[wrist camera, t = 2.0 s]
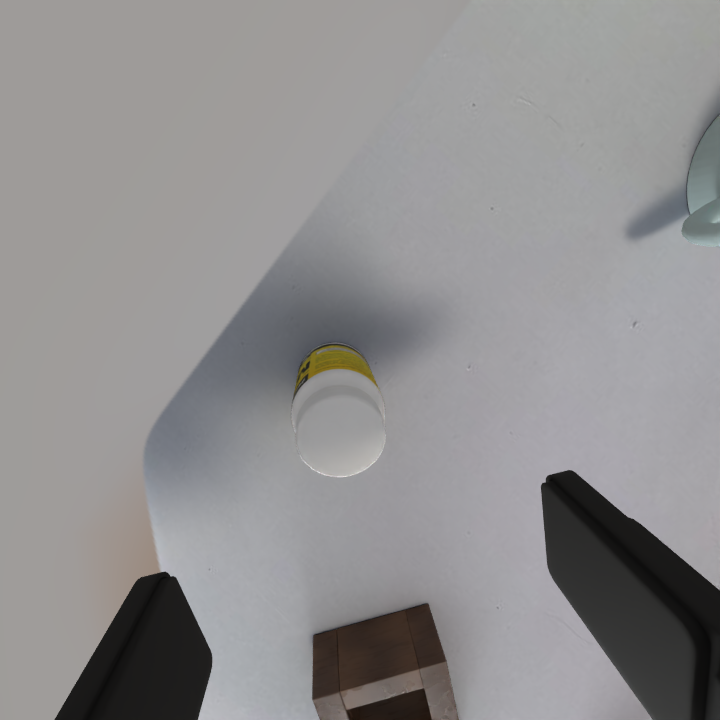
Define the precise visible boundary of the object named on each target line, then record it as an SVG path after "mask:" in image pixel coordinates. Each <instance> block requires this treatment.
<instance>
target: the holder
mask: <svg viewBox="0 0 720 720" xmlns="http://www.w3.org/2000/svg"><path fill="white" fill-rule="evenodd" d="M312 700H313V702H314V705H315V708H316V710H317V713H318V716H319V718H320V720H459V719H458V714H457V709H456V704H455V700H454V695H453V690H452V685H451V681H450V676H449V671H448V666H447V661H446V658H445V655H444V652H443V649H442V646H441V642H440V639H439V636H438V633H437V630H436V627H435V623H434V620H433V617H432V614H431V611H430V608H429V605H428V604H425V605H421V606H418V607H414V608H411V609H407V610H403V611H399V612H396V613H392V614H389V615H385V616H381V617H378V618H374V619H371V620H367V621H363V622H360V623H356V624H353V625H349V626H345V627H342V628H338V629H337V630H336V629H335V630H332V631H328V632H325V633H321V634H317V635H314V636H313V687H312Z"/></svg>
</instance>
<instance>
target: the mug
mask: <svg viewBox="0 0 720 720" xmlns="http://www.w3.org/2000/svg"><path fill="white" fill-rule="evenodd" d="M687 201H688V207H689V212H690V216H689V217H688V218H687V219H686V220H685V221H684V223H683V227H682V235H683V237H684V238H685V239H686V240H687V241H689V242H690V243H693V244H697V245H701V246H718V247H720V115H719V116H718V117H717V118H716V119H715V120H714V122H713V123H712V124H711V125H710V127H709V128H708V129H707V131H706V132H705V134H704V136H703V137H702V139H701V141H700V143H699V145H698V147H697V149H696V152H695V154H694V157H693V160H692V163H691V166H690V170H689V175H688V183H687Z"/></svg>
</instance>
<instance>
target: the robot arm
mask: <svg viewBox="0 0 720 720" xmlns="http://www.w3.org/2000/svg"><path fill="white" fill-rule="evenodd" d="M541 493H542V505H543V518H544V530H545V542H546V554H547V565H548V569H549V572H550V574H551V576H552V578H553V580H554V581H555V583H556V584H557V586H558V587H559V589H560V590H561V591H562V593H563V594H564V596H565V597H566V598H567V600H568V601H569V603H570V604H571V605H572V607H573V608H574V610H575V611H576V612H577V614H578V615H579V617H580V618H581V619H582V621H583V622H584V624H585V625H586V626H587V628H588V629H589V631H590V632H591V634H592V635H593V636H594V638H595V639H596V641H597V642H598V643H599V645H600V646H601V648H602V649H603V650H604V652H605V653H606V655H607V656H608V657H609V659H610V660H611V662H612V663H613V664H614V666H615V667H616V669H617V670H618V671H619V673H620V674H621V676H622V677H623V678H624V680H625V681H626V683H627V684H628V685H629V687H630V688H631V690H632V691H633V693H634V694H635V695H636V697H637V698H638V700H639V701H640V702H641V704H642V705H643V707H644V708H645V709H646V711H647V712H648V714H649V715H650V716H651V718H652V719H653V720H720V590H718V589H717V588H716V587H715V586H714V585H712V584H711V583H710V582H709V581H708V580H707V579H705V578H704V577H703V576H702V575H701V574H699V573H698V572H697V571H696V570H695V569H693V568H692V567H691V566H690V565H689V564H687V563H686V562H685V561H684V560H683V559H682V558H680V557H679V556H678V555H677V554H676V553H674V552H673V551H672V550H671V549H670V548H668V547H667V546H666V545H665V544H664V543H662V542H661V541H660V540H659V539H658V538H657V537H655V536H654V535H653V534H652V533H651V532H649V531H648V530H647V529H646V528H645V527H643V526H642V525H641V524H640V523H638V522H637V521H635V520H634V519H631V518H628V517H627V516H626V515H624V514H623V513H622V512H621V511H620V510H618V509H617V508H616V507H615V506H614V505H613V504H611V503H610V502H609V501H608V500H607V499H606V498H604V497H603V496H602V495H601V494H600V493H599V492H597V491H596V490H595V489H594V488H593V487H592V486H590V485H589V484H588V483H587V482H586V481H584V480H583V479H582V478H581V477H580V476H579V475H577V474H576V473H575V472H573V471H571V470H568V471H564V472H560V473H556V474H552V475H548V476H547V478H546V483H542V485H541ZM211 669H212V653H211V650H210V648H209V646H208V644H207V642H206V640H205V638H204V636H203V633H202V631H201V629H200V627H199V625H198V623H197V621H196V619H195V617H194V614H193V612H192V610H191V608H190V606H189V604H188V602H187V600H186V597H185V595H184V593H183V591H182V589H181V587H180V585H179V583H178V581H177V579H176V577H174V576H172V577H170V575H169V574H168V573H167V572H161V573H157V574H153V575H149V576H145V577H141V578H140V579H138V580H137V581H136V582H135V584H134V585H133V587H132V589H131V591H130V592H129V594H128V596H127V597H126V599H125V601H124V602H123V604H122V606H121V608H120V609H119V611H118V613H117V614H116V616H115V618H114V620H113V621H112V623H111V625H110V626H109V628H108V630H107V631H106V633H105V635H104V636H103V638H102V640H101V642H100V643H99V645H98V647H97V648H96V650H95V652H94V653H93V655H92V657H91V659H90V660H89V662H88V664H87V665H86V667H85V669H84V670H83V672H82V674H81V676H80V677H79V679H78V681H77V682H76V684H75V686H74V687H73V689H72V691H71V693H70V694H69V696H68V698H67V699H66V701H65V703H64V705H63V706H62V708H61V710H60V711H59V713H58V715H57V717H56V718H55V720H198V716H199V713H200V709H201V705H202V702H203V698H204V695H205V691H206V687H207V684H208V680H209V677H210V673H211Z"/></svg>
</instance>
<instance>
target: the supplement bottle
mask: <svg viewBox="0 0 720 720" xmlns="http://www.w3.org/2000/svg"><path fill="white" fill-rule="evenodd" d="M291 418H292V425H293V428H294V431H295V440H296V447H297V450H298V453H299V455H300V457H301V458H302V460H303V461H304V462H305V463H306V464H307V465H308V466H309V467H310V468H311V469H313V470H314V471H316V472H318V473H320V474H323V475H326V476H331V477H347V476H352V475H355V474H358V473H360V472H362V471H364V470H365V469H367V468H369V467H370V466H371V465H372V464H373V463H374V462H375V461H376V460H377V459H378V457H379V456H380V454H381V452H382V450H383V448H384V445H385V440H386V428H385V424H384V420H385V406H384V400H383V397H382V394H381V392H380V390H379V388H378V386H377V384H376V381H375V379H374V377H373V375H372V372H371V370H370V367H369V365H368V363H367V361H366V359H365V358H364V356H363V355H362V354H361V353H360V352H359V351H358V350H356V349H355V348H353V347H352V346H349V345H347V344H343V343H327V344H323V345H320V346H318V347H316V348H314V349H313V350H312V351H310V352H309V353H308V354H307V355H306V357H305V358H304V359H303V361H302V363H301V365H300V368H299V371H298V376H297V381H296V386H295V392H294V398H293V402H292V408H291Z"/></svg>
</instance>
